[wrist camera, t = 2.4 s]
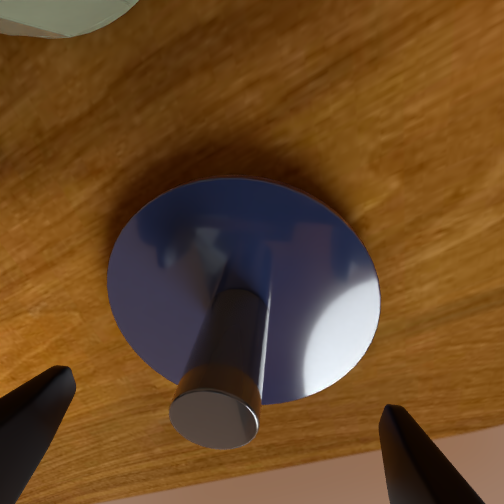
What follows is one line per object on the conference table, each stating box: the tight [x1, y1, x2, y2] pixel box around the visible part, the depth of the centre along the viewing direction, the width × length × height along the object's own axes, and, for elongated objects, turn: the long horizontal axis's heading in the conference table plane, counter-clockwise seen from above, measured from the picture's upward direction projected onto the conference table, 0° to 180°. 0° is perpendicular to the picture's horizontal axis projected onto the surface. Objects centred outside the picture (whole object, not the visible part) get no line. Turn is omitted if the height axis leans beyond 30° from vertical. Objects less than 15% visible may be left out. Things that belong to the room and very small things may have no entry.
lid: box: [107, 175, 381, 449], centre depth 10 cm, size 11×11×6 cm
